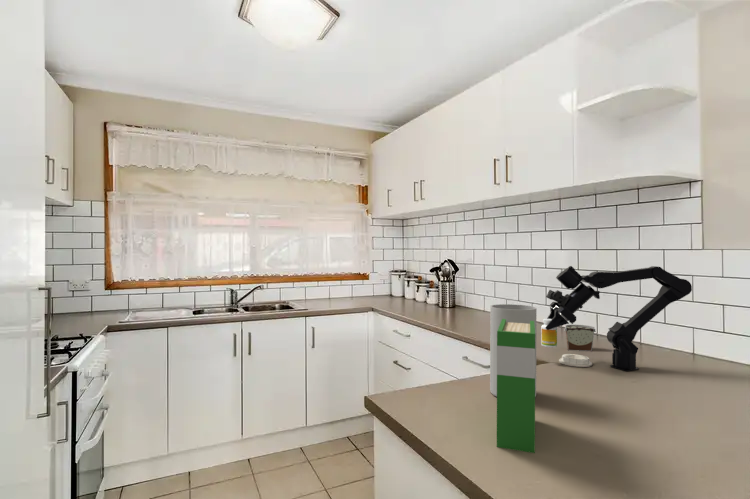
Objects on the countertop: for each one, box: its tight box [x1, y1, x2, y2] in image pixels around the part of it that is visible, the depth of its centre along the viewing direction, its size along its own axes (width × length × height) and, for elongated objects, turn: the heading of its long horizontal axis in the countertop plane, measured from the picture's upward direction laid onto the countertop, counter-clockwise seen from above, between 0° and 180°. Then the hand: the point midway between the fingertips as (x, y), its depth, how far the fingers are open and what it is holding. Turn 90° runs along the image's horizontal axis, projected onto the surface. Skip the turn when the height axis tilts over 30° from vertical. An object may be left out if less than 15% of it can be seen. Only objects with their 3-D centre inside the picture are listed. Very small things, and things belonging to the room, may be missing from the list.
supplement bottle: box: [540, 318, 558, 348], centre depth 152 cm, size 5×5×10 cm
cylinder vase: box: [489, 303, 537, 398], centre depth 118 cm, size 12×12×25 cm
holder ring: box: [558, 353, 593, 368], centre depth 153 cm, size 11×11×2 cm
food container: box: [563, 324, 597, 352], centre depth 176 cm, size 12×6×10 cm, turn 84°
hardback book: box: [496, 319, 536, 454], centre depth 93 cm, size 18×7×24 cm, turn 160°
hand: (545, 327), depth 152 cm, fingers closed on supplement bottle, 5 cm apart
